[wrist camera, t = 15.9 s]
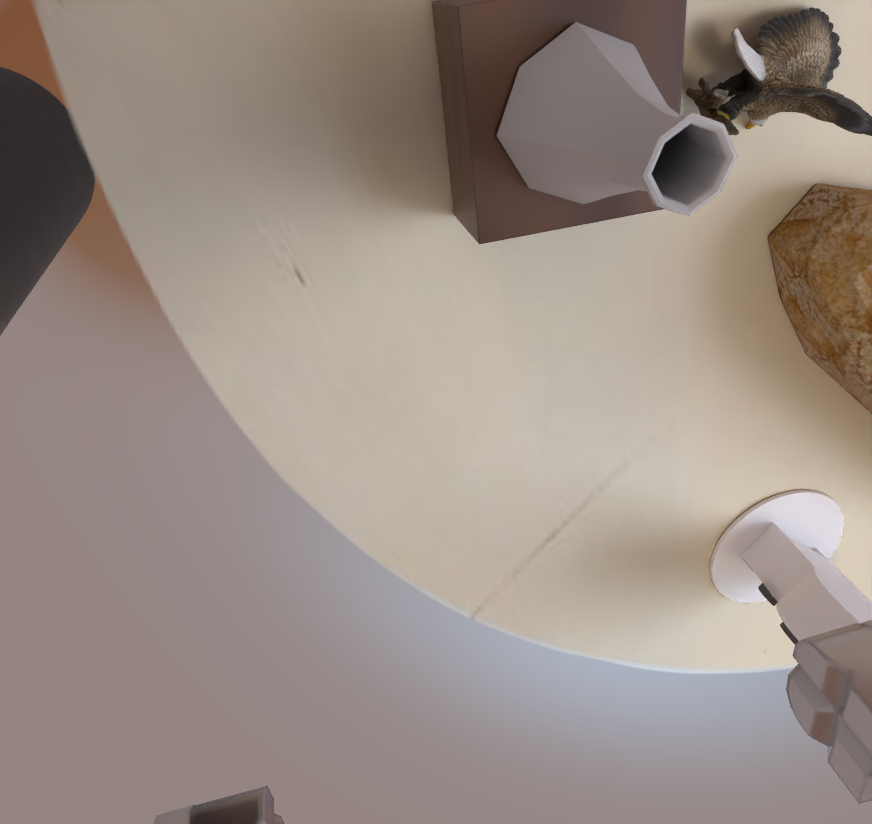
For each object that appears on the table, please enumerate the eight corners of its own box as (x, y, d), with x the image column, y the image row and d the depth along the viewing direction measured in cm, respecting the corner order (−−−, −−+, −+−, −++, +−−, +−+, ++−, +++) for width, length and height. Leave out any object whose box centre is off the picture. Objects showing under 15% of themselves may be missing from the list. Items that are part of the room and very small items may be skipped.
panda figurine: (676, 571, 57) (797, 739, 44) (781, 464, 53) (944, 614, 41) (766, 615, 62) (896, 776, 50) (866, 521, 59) (1033, 669, 46)
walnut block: (454, 215, 39) (478, 244, 34) (431, 1, 33) (457, 5, 29) (630, 183, 40) (674, 207, 36) (635, -29, 35) (689, -30, 30)
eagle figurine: (697, 204, 40) (865, 162, 39) (737, 162, 33) (944, 110, 32) (666, 69, 40) (834, 24, 39) (700, -2, 33) (906, -58, 32)
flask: (581, 228, 35) (685, 307, 27) (466, 140, 32) (544, 198, 24) (683, 96, 33) (831, 136, 25) (572, -14, 30) (698, -10, 21)
